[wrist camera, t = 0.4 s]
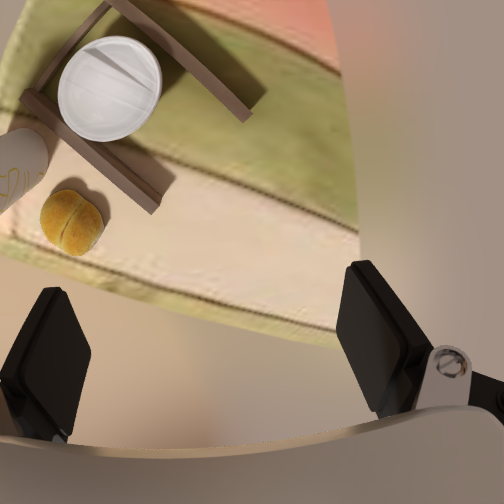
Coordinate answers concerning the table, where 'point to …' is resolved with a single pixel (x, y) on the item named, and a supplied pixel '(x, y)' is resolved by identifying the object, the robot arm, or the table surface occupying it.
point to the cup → (20, 164)
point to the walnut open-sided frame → (94, 149)
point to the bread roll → (71, 222)
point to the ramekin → (109, 88)
